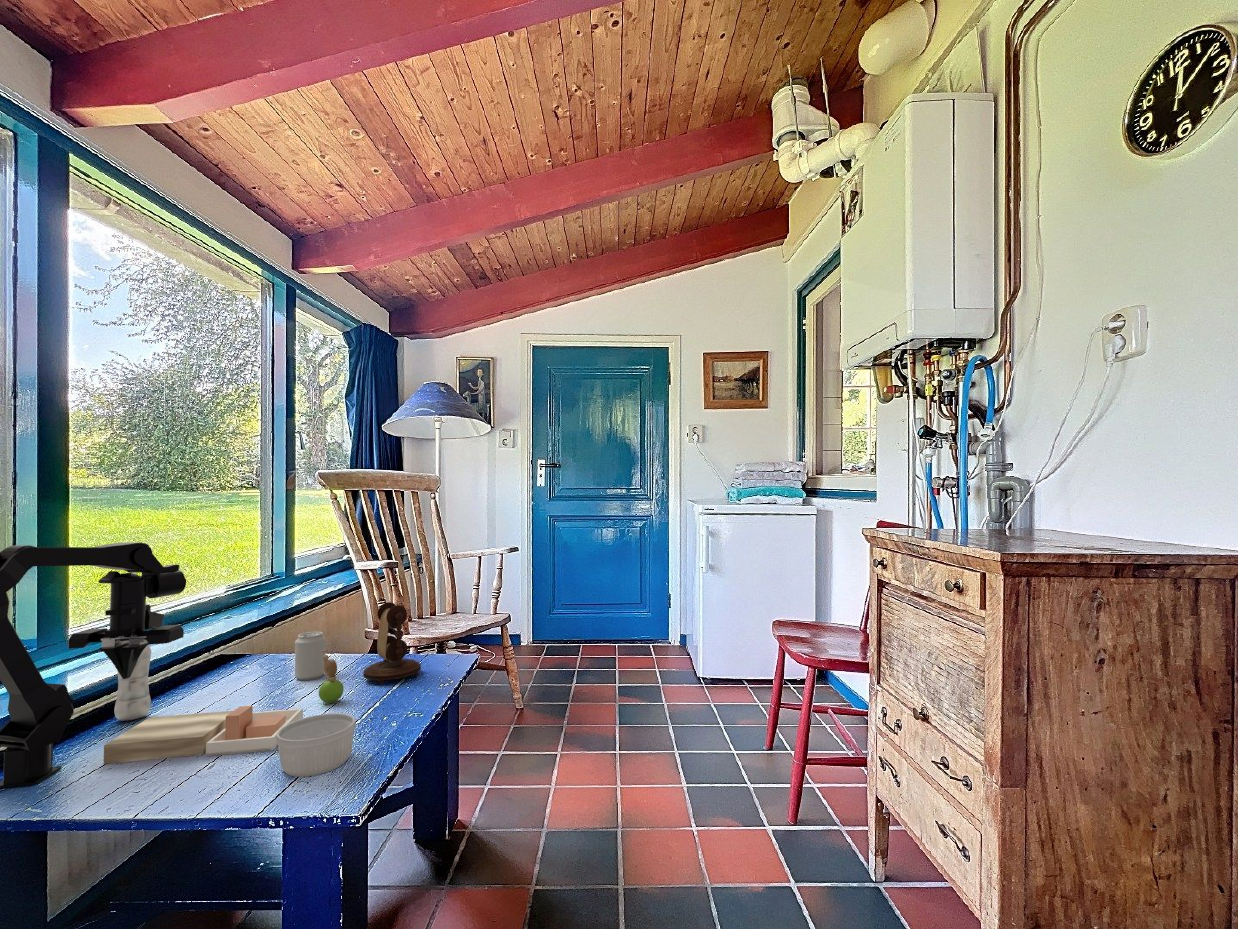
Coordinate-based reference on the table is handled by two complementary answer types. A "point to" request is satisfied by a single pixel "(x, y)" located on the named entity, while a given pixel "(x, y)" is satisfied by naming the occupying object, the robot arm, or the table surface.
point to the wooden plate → (166, 737)
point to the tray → (250, 744)
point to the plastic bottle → (134, 691)
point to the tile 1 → (238, 722)
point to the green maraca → (330, 682)
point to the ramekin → (315, 744)
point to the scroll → (391, 647)
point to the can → (309, 655)
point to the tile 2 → (265, 726)
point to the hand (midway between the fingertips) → (126, 678)
